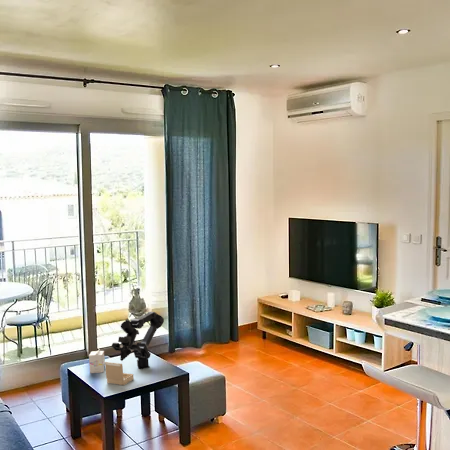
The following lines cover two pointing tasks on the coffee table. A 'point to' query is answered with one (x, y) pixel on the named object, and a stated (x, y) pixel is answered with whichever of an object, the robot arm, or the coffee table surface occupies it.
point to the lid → (114, 371)
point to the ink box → (97, 361)
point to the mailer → (126, 379)
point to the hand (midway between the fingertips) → (121, 360)
